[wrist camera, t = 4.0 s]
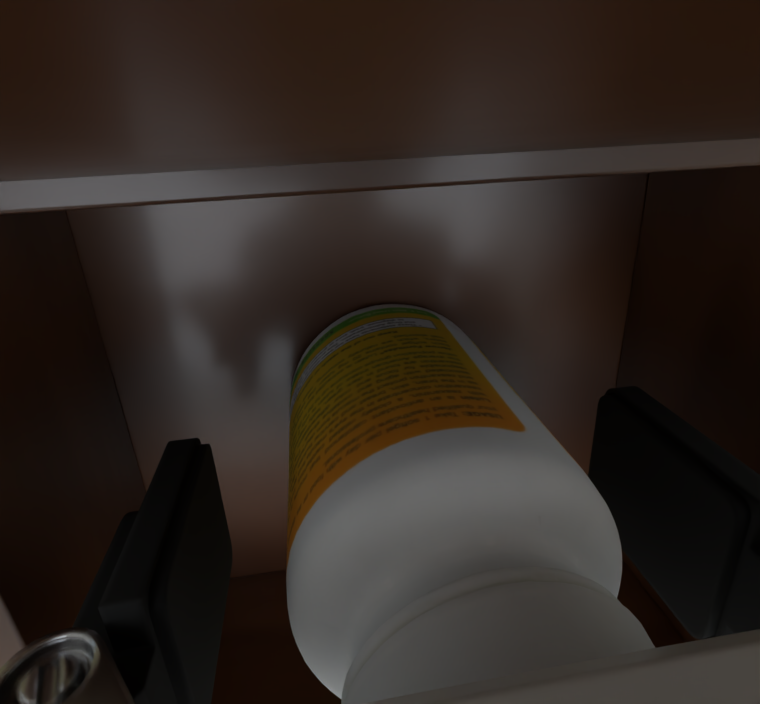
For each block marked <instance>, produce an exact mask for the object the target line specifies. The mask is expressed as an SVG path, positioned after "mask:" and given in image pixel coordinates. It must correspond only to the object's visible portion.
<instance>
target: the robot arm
mask: <svg viewBox="0 0 760 704" xmlns="http://www.w3.org/2000/svg"><path fill="white" fill-rule="evenodd" d="M588 478H589V479H590V480H591V482H592V483H593V484H594V486H595V487H596V489H597V490H598V492H599V493H600V495H601V496H602V498H603V499H604V501H605V502H606V504H607V506H608V508H609V510H610V512H611V514H612V517H613V519H614V521H615V524H616V527H617V530H618V534H619V538H620V543H621V548H622V550H623V551H624V552H625V554H626V555H627V556H628V557H629V559H630V560H631V561H632V562H633V564H634V565H635V566H636V567H637V569H638V570H639V571H640V572H641V574H642V575H643V576H644V578H645V579H646V580H647V581H648V583H649V584H650V585H651V586H652V588H653V589H654V590H655V591H656V593H657V594H658V595H659V596H660V598H661V599H662V600H663V601H664V603H665V604H666V605H667V606H668V608H669V609H670V610H671V611H672V613H673V614H674V615H675V617H676V618H677V619H678V620H679V622H680V623H681V624H682V625H683V627H684V628H685V629H686V630H687V632H688V633H689V634H690V635H691V636H693V637H694V638H696V639H700V640H696V641H691V642H685V643H680V644H674V645H669V646H663V647H658V648H652V649H647V650H641V651H636V652H631V653H625V654H620V655H615V656H609V657H604V658H598V659H593V660H588V661H582V662H577V663H572V664H566V665H561V666H556V667H550V668H545V669H540V670H534V671H529V672H524V673H519V674H513V675H508V676H503V677H497V678H492V679H487V680H481V681H476V682H471V683H466V684H461V685H455V686H450V687H445V688H440V689H435V690H430V691H424V692H419V693H414V694H409V695H404V696H399V697H394V698H388V699H383V700H378V701H373V702H368V703H363V704H760V475H759V474H758V473H756V472H755V471H754V470H752V469H751V468H749V467H748V466H747V465H745V464H744V463H743V462H741V461H740V460H738V459H737V458H736V457H734V456H733V455H732V454H730V453H729V452H727V451H726V450H725V449H723V448H722V447H720V446H719V445H718V444H716V443H715V442H714V441H712V440H711V439H709V438H708V437H707V436H705V435H704V434H702V433H701V432H700V431H698V430H697V429H696V428H694V427H693V426H691V425H690V424H689V423H687V422H686V421H685V420H683V419H682V418H680V417H679V416H678V415H676V414H675V413H673V412H672V411H671V410H669V409H668V408H667V407H665V406H664V405H662V404H661V403H660V402H658V401H657V400H656V399H654V398H653V397H651V396H650V395H649V394H647V393H646V392H644V391H643V390H642V389H640V388H639V387H637V386H627V387H619V388H610V389H608V390H607V391H606V393H605V395H604V396H602V397H600V399H599V402H598V407H597V415H596V422H595V429H594V436H593V443H592V450H591V457H590V465H589V472H588ZM232 560H233V552H232V543H231V538H230V534H229V529H228V524H227V519H226V515H225V510H224V505H223V500H222V496H221V491H220V486H219V481H218V477H217V472H216V467H215V463H214V458H213V453H212V449H211V446H210V444H209V443H208V444H201V441H200V439H199V438H191V439H182V440H174V441H169V442H168V443H167V445H166V448H165V450H164V452H163V455H162V457H161V459H160V462H159V464H158V467H157V469H156V471H155V474H154V476H153V478H152V481H151V483H150V485H149V488H148V490H147V492H146V495H145V497H144V500H143V502H142V504H141V507H140V509H139V511H132V512H128V513H126V514H125V515H124V517H123V518H122V520H121V522H120V524H119V526H118V528H117V531H116V533H115V535H114V537H113V539H112V541H111V544H110V546H109V548H108V550H107V552H106V555H105V557H104V559H103V561H102V563H101V565H100V568H99V570H98V572H97V574H96V576H95V578H94V581H93V583H92V585H91V587H90V589H89V592H88V594H87V596H86V598H85V600H84V602H83V605H82V607H81V609H80V611H79V613H78V615H77V618H76V620H75V622H74V624H73V626H72V627H69V628H66V629H62V630H58V631H54V632H51V633H49V634H47V635H45V636H43V637H41V638H38V639H36V640H34V641H33V642H31V643H30V644H28V645H27V646H25V647H24V648H22V649H21V650H20V651H18V652H17V653H16V654H14V655H13V656H12V657H11V658H10V659H9V660H8V661H7V662H6V663H5V664H4V665H3V666H2V667H1V668H0V704H211V701H212V694H213V687H214V681H215V674H216V667H217V661H218V654H219V648H220V641H221V634H222V628H223V621H224V614H225V608H226V601H227V595H228V588H229V581H230V575H231V568H232Z"/></svg>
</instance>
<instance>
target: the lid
mask: <svg viewBox="0 0 760 704" xmlns="http://www.w3.org/2000/svg"><path fill="white" fill-rule="evenodd" d="M756 138H760V0H0V182H6V181H24V180H41V179H59V178H76V177H94V176H111V175H128V174H146V173H163V172H181V171H198V170H216V169H233V168H250V167H268V166H285V165H303V164H320V163H338V162H355V161H372V160H390V159H407V158H425V157H442V156H460V155H477V154H495V153H512V152H529V151H547V150H564V149H582V148H599V147H617V146H634V145H651V144H669V143H686V142H704V141H721V140H739V139H756Z"/></svg>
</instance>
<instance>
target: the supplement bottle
mask: <svg viewBox="0 0 760 704" xmlns="http://www.w3.org/2000/svg"><path fill="white" fill-rule="evenodd" d="M289 423H290V428H289V486H288V521H287V565H286V587H287V607H288V613H289V620H290V625H291V629H292V633H293V635H294V638H295V641H296V644H297V646H298V648H299V651H300V653H301V655H302V657H303V659H304V661H305V662H306V664H307V665H308V667H309V668H310V669H311V671H312V672H313V673H314V674H315V676H316V677H317V678H318V679H319V680H320V682H321V683H322V684H323V685H324V686H326V687H327V688H328V689H329V690H330V691H331V692H332V693H334V694H335V695H336V696H337V697H339V698H340V699H341V704H363V703H368V702H373V701H378V700H383V699H388V698H394V697H399V696H404V695H409V694H414V693H419V692H424V691H430V690H435V689H440V688H445V687H450V686H455V685H461V684H466V683H471V682H476V681H481V680H487V679H492V678H497V677H503V676H508V675H513V674H519V673H524V672H529V671H534V670H540V669H545V668H550V667H556V666H561V665H566V664H572V663H577V662H582V661H588V660H593V659H598V658H604V657H609V656H615V655H620V654H625V653H631V652H636V651H641V650H647V649H652V648H655V646H654V645H653V643H652V641H651V639H650V638H649V636H648V634H647V633H646V631H645V629H644V628H643V626H642V624H641V623H640V622H639V620H638V619H637V618H636V617H635V616H634V615H633V614H632V613H631V612H630V610H629V609H627V608H626V607H625V606H623V605H622V604H621V603H620V602H619V600H618V599H617V596H618V592H619V588H620V582H621V576H622V548H621V543H620V538H619V534H618V530H617V527H616V524H615V521H614V519H613V517H612V514H611V512H610V510H609V508H608V506H607V504H606V502H605V501H604V499H603V498H602V496H601V495H600V493H599V492H598V490H597V489H596V487H595V486H594V484H593V483H592V482H591V480H590V479H589V478H588V476H587V475H586V473H585V472H584V471H583V469H582V468H581V467H580V466H579V465H578V463H577V462H576V461H575V460H574V459H573V458H572V456H571V455H570V454H569V453H568V452H567V451H566V449H565V448H564V447H563V446H562V445H561V444H560V443H559V441H558V440H557V439H556V438H555V437H554V436H553V435H552V433H551V432H550V431H549V430H548V429H547V428H546V426H545V425H544V424H543V423H542V422H541V421H540V419H539V418H538V417H537V416H536V415H535V414H534V413H533V411H532V410H531V409H530V408H529V407H528V406H527V405H526V403H525V402H524V401H523V400H522V399H521V397H520V396H519V395H518V394H517V393H516V392H515V390H514V389H513V388H512V387H511V386H510V385H509V383H508V382H507V381H506V380H505V379H504V378H503V376H502V375H501V374H500V373H499V372H498V370H497V369H496V368H495V367H494V366H493V365H492V363H491V362H490V361H489V360H488V359H487V358H486V356H485V355H484V354H483V353H482V352H481V351H480V349H479V348H478V347H477V346H476V345H475V344H474V343H473V341H472V340H471V339H470V338H469V337H468V336H467V335H466V334H465V333H464V332H463V331H462V330H461V329H460V328H458V327H457V326H456V325H455V324H454V323H453V322H451V321H450V320H448V319H447V318H445V317H443V316H442V315H440V314H438V313H436V312H433V311H431V310H428V309H425V308H421V307H417V306H412V305H404V304H383V305H375V306H370V307H366V308H363V309H359V310H357V311H354V312H351V313H349V314H347V315H345V316H343V317H341V318H340V319H338V320H337V321H335V322H334V323H332V324H331V325H330V326H328V327H327V328H326V329H325V330H324V331H322V332H321V333H320V334H319V335H318V336H317V337H316V338H315V339H314V340H313V342H312V343H311V344H310V345H309V347H308V348H307V349H306V351H305V352H304V354H303V356H302V358H301V360H300V361H299V364H298V366H297V368H296V371H295V374H294V377H293V382H292V387H291V395H290V415H289Z"/></svg>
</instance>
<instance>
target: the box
mask: <svg viewBox="0 0 760 704" xmlns="http://www.w3.org/2000/svg"><path fill="white" fill-rule="evenodd" d="M383 304H404V305H412V306H417V307H421V308H425V309H428V310H431V311H433V312H436V313H438V314H440V315H442V316H443V317H445V318H447V319H448V320H450V321H451V322H453V323H454V324H455V325H456V326H457V327H458V328H460V329H461V330H462V331H463V332H464V333H465V334H466V335H467V336H468V337H469V338H470V339H471V340H472V341H473V343H474V344H475V345H476V346H477V347H478V348H479V349H480V351H481V352H482V353H483V354H484V355H485V356H486V358H487V359H488V360H489V361H490V362H491V363H492V365H493V366H494V367H495V368H496V369H497V370H498V372H499V373H500V374H501V375H502V376H503V378H504V379H505V380H506V381H507V382H508V383H509V385H510V386H511V387H512V388H513V389H514V390H515V392H516V393H517V394H518V395H519V396H520V397H521V399H522V400H523V401H524V402H525V403H526V405H527V406H528V407H529V408H530V409H531V410H532V411H533V413H534V414H535V415H536V416H537V417H538V418H539V419H540V421H541V422H542V423H543V424H544V425H545V426H546V428H547V429H548V430H549V431H550V432H551V433H552V435H553V436H554V437H555V438H556V439H557V440H558V441H559V443H560V444H561V445H562V446H563V447H564V448H565V449H566V451H567V452H568V453H569V454H570V455H571V456H572V458H573V459H574V460H575V461H576V462H577V463H578V465H579V466H580V467H581V468H582V469H583V471H584V472H585V473H586V475H587V476H588V472H589V465H590V457H591V450H592V443H593V436H594V429H595V422H596V415H597V407H598V402H599V399H600V397H602V396H604V395H605V393H606V391H607V390H608V389H610V388H619V387H627V386H637V387H639V388H640V389H642V390H643V391H644V392H646V393H647V394H649V395H650V396H651V397H653V398H654V399H656V400H657V401H658V402H660V403H661V404H662V405H664V406H665V407H667V408H668V409H669V410H671V411H672V412H673V413H675V414H676V415H678V416H679V417H680V418H682V419H683V420H685V421H686V422H687V423H689V424H690V425H691V426H693V427H694V428H696V429H697V430H698V431H700V432H701V433H702V434H704V435H705V436H707V437H708V438H709V439H711V440H712V441H714V442H715V443H716V444H718V445H719V446H720V447H722V448H723V449H725V450H726V451H727V452H729V453H730V454H732V455H733V456H734V457H736V458H737V459H738V460H740V461H741V462H743V463H744V464H745V465H747V466H748V467H749V468H751V469H752V470H754V471H755V472H756V473H758V474H759V475H760V138H756V139H739V140H721V141H704V142H686V143H669V144H651V145H634V146H617V147H599V148H582V149H564V150H547V151H529V152H512V153H495V154H477V155H460V156H442V157H425V158H407V159H390V160H372V161H355V162H338V163H320V164H303V165H285V166H268V167H250V168H233V169H216V170H198V171H181V172H163V173H146V174H128V175H111V176H94V177H76V178H59V179H41V180H24V181H6V182H0V668H1V667H2V666H3V665H4V664H5V663H6V662H7V661H8V660H9V659H10V658H11V657H12V656H13V655H14V654H16V653H17V652H18V651H20V650H21V649H22V648H24V647H25V646H27V645H28V644H30V643H31V642H33V641H34V640H36V639H38V638H41V637H43V636H45V635H47V634H49V633H51V632H54V631H58V630H62V629H66V628H69V627H72V626H73V624H74V622H75V620H76V618H77V615H78V613H79V611H80V609H81V607H82V605H83V602H84V600H85V598H86V596H87V594H88V592H89V589H90V587H91V585H92V583H93V581H94V578H95V576H96V574H97V572H98V570H99V568H100V565H101V563H102V561H103V559H104V557H105V555H106V552H107V550H108V548H109V546H110V544H111V541H112V539H113V537H114V535H115V533H116V531H117V528H118V526H119V524H120V522H121V520H122V518H123V517H124V515H125V514H126V513H128V512H132V511H139V509H140V507H141V504H142V502H143V500H144V497H145V495H146V492H147V490H148V488H149V485H150V483H151V481H152V478H153V476H154V474H155V471H156V469H157V467H158V464H159V462H160V459H161V457H162V455H163V452H164V450H165V448H166V445H167V443H168V442H169V441H174V440H182V439H191V438H199V439H200V441H201V444H208V443H209V444H210V446H211V449H212V453H213V458H214V463H215V467H216V472H217V477H218V481H219V486H220V491H221V496H222V500H223V505H224V510H225V515H226V519H227V524H228V529H229V534H230V538H231V543H232V552H233V560H232V568H231V575H230V581H229V588H228V595H227V601H226V608H225V614H224V621H223V628H222V634H221V641H220V648H219V654H218V661H217V667H216V674H215V681H214V687H213V694H212V701H211V704H341V699H340V698H339V697H337V696H336V695H335V694H334V693H332V692H331V691H330V690H329V689H328V688H327V687H326V686H324V685H323V684H322V683H321V682H320V680H319V679H318V678H317V677H316V676H315V674H314V673H313V672H312V671H311V669H310V668H309V667H308V665H307V664H306V662H305V661H304V659H303V657H302V655H301V653H300V651H299V648H298V646H297V644H296V641H295V638H294V635H293V633H292V629H291V625H290V620H289V613H288V607H287V587H286V565H287V521H288V486H289V428H290V423H289V415H290V395H291V387H292V382H293V377H294V374H295V371H296V368H297V366H298V364H299V361H300V360H301V358H302V356H303V354H304V352H305V351H306V349H307V348H308V347H309V345H310V344H311V343H312V342H313V340H314V339H315V338H316V337H317V336H318V335H319V334H320V333H321V332H322V331H324V330H325V329H326V328H327V327H328V326H330V325H331V324H332V323H334V322H335V321H337V320H338V319H340V318H341V317H343V316H345V315H347V314H349V313H351V312H354V311H357V310H359V309H363V308H366V307H370V306H375V305H383ZM617 599H618V600H619V602H620V603H621V604H622V605H623V606H625V607H626V608H627V609H629V610H630V612H631V613H632V614H633V615H634V616H635V617H636V618H637V619H638V620H639V622H640V623H641V624H642V626H643V628H644V629H645V631H646V633H647V634H648V636H649V638H650V639H651V641H652V643H653V645H654V646H655V648H658V647H663V646H669V645H674V644H680V643H685V642H691V641H696V640H700V639H696V638H694V637H693V636H691V635H690V634H689V633H688V632H687V630H686V629H685V628H684V627H683V625H682V624H681V623H680V622H679V620H678V619H677V618H676V617H675V615H674V614H673V613H672V611H671V610H670V609H669V608H668V606H667V605H666V604H665V603H664V601H663V600H662V599H661V598H660V596H659V595H658V594H657V593H656V591H655V590H654V589H653V588H652V586H651V585H650V584H649V583H648V581H647V580H646V579H645V578H644V576H643V575H642V574H641V572H640V571H639V570H638V569H637V567H636V566H635V565H634V564H633V562H632V561H631V560H630V559H629V557H628V556H627V555H626V554H625V552H624V551H623V550H622V576H621V582H620V588H619V592H618V596H617Z"/></svg>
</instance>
